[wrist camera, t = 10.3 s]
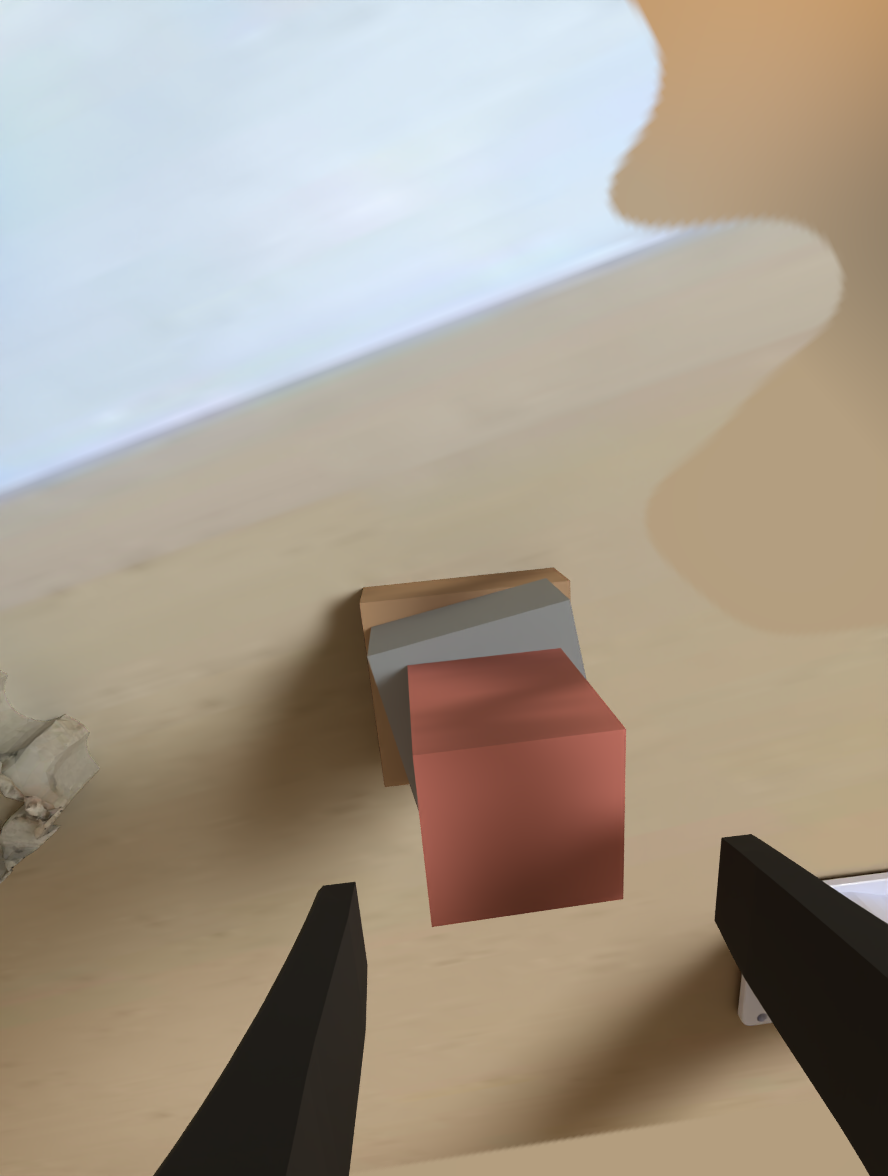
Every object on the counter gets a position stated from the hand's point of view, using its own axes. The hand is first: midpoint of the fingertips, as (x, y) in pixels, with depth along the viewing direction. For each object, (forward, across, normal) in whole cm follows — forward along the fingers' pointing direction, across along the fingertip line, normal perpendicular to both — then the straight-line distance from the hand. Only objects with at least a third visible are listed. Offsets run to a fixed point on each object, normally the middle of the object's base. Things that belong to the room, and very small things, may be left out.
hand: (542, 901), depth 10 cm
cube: (+6, 0, 0) cm, 6 cm away
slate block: (+8, 0, -1) cm, 9 cm away
